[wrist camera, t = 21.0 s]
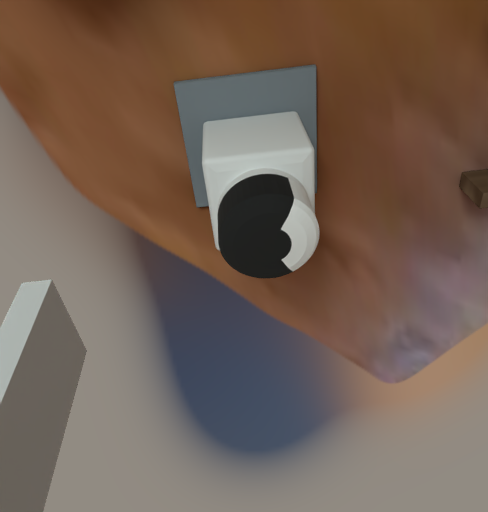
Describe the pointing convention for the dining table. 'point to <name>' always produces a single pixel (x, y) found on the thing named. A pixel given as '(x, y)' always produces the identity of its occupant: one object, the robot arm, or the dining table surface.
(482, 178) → the rack
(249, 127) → the container
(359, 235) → the dining table surface
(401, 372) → the dining table surface
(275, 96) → the pad
